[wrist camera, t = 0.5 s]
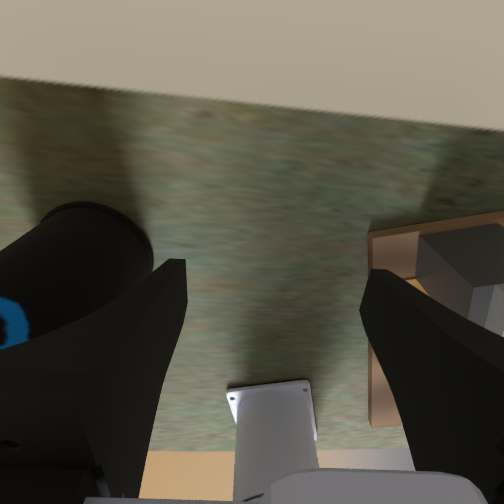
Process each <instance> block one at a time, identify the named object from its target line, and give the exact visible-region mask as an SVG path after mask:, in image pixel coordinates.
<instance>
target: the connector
mask: <svg viewBox="0 0 504 504" xmlns="http://www.w3.org/2000/svg"><path fill="white" fill-rule="evenodd" d="M415 279H416V280H417V281H418V282H419V284H420V285H421V286H422V287H423V289H424V290H425V291H426V292H427V294H428V295H429V296H430V297H431V298H433V299H434V300H436V301H437V302H439V303H441V304H442V305H444V306H446V307H447V308H449V309H451V310H452V311H454V312H456V313H457V314H459V315H461V316H463V317H465V318H466V319H468V320H470V321H472V322H474V323H476V324H478V325H480V326H482V327H484V328H486V329H488V330H490V331H492V332H494V333H496V334H498V335H500V336H502V337H504V227H503V226H501V225H500V224H498V223H493V224H487V225H481V226H474V227H468V228H461V229H455V230H449V231H442V232H436V233H429V234H423V235H418V247H417V258H416V270H415Z"/></svg>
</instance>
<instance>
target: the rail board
mask: <svg viewBox="0 0 504 504" xmlns="http://www.w3.org/2000/svg"><path fill="white" fill-rule="evenodd" d="M493 223H498V224H500V225H501V226H503V227H504V211H497V212H491V213H485V214H478V215H472V216H466V217H459V218H453V219H447V220H441V221H434V222H428V223H422V224H415V225H409V226H403V227H396V228H390V229H384V230H378V231H371V232H368V277H369V274H370V270H371V269H387V270H389V271H391V272H393V273H394V274H396V275H398V276H399V277H401V278H402V279H404V280H405V281H407V282H408V283H410V284H411V285H413V286H414V287H416V288H417V289H419V290H420V291H422V292H423V293H425V294H427V292H426V291H425V290H424V289H423V287H422V286H421V285H420V284H419V282H418V281H417V280H416V279H415V270H416V258H417V247H418V235H423V234H429V233H436V232H442V231H449V230H455V229H461V228H468V227H474V226H481V225H487V224H493ZM427 295H428V294H427ZM428 296H429V295H428ZM368 419H369V422H370V425H371V428H380V427H390V426H399V425H403V424H402V421H401V418H400V415H399V412H398V409H397V406H396V403H395V400H394V397H393V394H392V391H391V389H390V386H389V384H388V382H387V379H386V377H385V375H384V373H383V370H382V368H381V366H380V364H379V362H378V359H377V357H376V355H375V353H374V351H373V348H372V346H371V344H370V342H369V339H368Z"/></svg>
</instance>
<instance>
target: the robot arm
mask: <svg viewBox="0 0 504 504" xmlns="http://www.w3.org/2000/svg"><path fill="white" fill-rule="evenodd" d="M187 303H188V299H187V280H186V261H185V259H168V260H167V261H166V262H164V263H163V264H162V265H161V266H160V267H158V268H157V269H156V270H155V271H153V272H152V273H151V274H150V275H148V276H147V277H146V278H145V279H143V280H142V281H141V282H140V283H138V284H137V285H135V286H134V287H133V288H131V289H130V290H128V291H127V292H125V293H124V294H123V295H121V296H120V297H118V298H117V299H115V300H114V301H112V302H110V303H109V304H107V305H105V306H103V307H102V308H100V309H98V310H96V311H95V312H93V313H91V314H89V315H87V316H85V317H83V318H80V319H78V320H76V321H74V322H72V323H70V324H68V325H66V326H64V327H61V328H59V329H57V330H54V331H52V332H49V333H47V334H44V335H42V336H39V337H36V338H34V339H31V340H28V341H25V342H22V343H20V344H16V345H13V346H10V347H7V348H4V349H1V350H0V504H504V337H502V336H500V335H498V334H496V333H494V332H492V331H490V330H488V329H486V328H484V327H482V326H480V325H478V324H476V323H474V322H472V321H470V320H468V319H466V318H465V317H463V316H461V315H459V314H457V313H456V312H454V311H452V310H451V309H449V308H447V307H446V306H444V305H442V304H441V303H439V302H437V301H436V300H434V299H433V298H431V297H430V296H428V295H427V294H425V293H423V292H422V291H420V290H419V289H417V288H416V287H414V286H413V285H411V284H410V283H408V282H407V281H405V280H404V279H402V278H401V277H399V276H398V275H396V274H394V273H393V272H391V271H389V270H387V269H371V270H370V274H369V277H368V281H367V284H366V288H365V291H364V295H363V299H362V302H361V306H360V309H359V311H360V315H361V319H362V322H363V326H364V329H365V332H366V335H367V337H368V339H369V342H370V344H371V346H372V348H373V351H374V353H375V355H376V357H377V359H378V362H379V364H380V366H381V368H382V370H383V373H384V375H385V377H386V379H387V382H388V384H389V386H390V389H391V391H392V394H393V397H394V400H395V403H396V406H397V409H398V412H399V415H400V418H401V421H402V424H403V428H404V431H405V435H406V438H407V441H408V445H409V448H410V452H411V455H412V459H413V463H414V467H415V470H416V471H400V470H399V471H398V470H369V469H341V468H319V463H318V458H317V452H316V446H315V441H316V440H317V432H316V425H315V418H314V410H313V403H312V396H311V388H310V383H309V381H308V380H299V381H290V382H282V383H273V384H265V385H257V386H248V387H240V388H232V389H228V390H227V391H226V396H227V399H228V402H229V405H230V408H231V411H232V414H233V417H234V420H235V423H236V443H235V464H234V487H233V501H208V500H207V501H205V500H172V499H141V498H138V497H139V493H140V487H141V481H142V476H143V471H144V467H145V462H146V456H147V452H148V447H149V442H150V438H151V433H152V429H153V424H154V420H155V415H156V411H157V406H158V402H159V398H160V394H161V389H162V385H163V382H164V379H165V375H166V372H167V369H168V367H169V364H170V361H171V358H172V355H173V352H174V349H175V347H176V344H177V341H178V338H179V335H180V332H181V329H182V326H183V323H184V318H185V313H186V308H187Z"/></svg>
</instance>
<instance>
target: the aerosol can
mask: <svg viewBox="0 0 504 504" xmlns="http://www.w3.org/2000/svg"><path fill="white" fill-rule="evenodd" d="M152 270H153V255H152V251H151V248H150V245H149V243H148V241H147V239H146V237H145V236H144V234H143V233H142V232H141V230H140V229H139V228H138V227H137V226H136V225H135V224H134V223H133V222H132V221H131V220H130V219H128V218H127V217H126V216H124V215H123V214H121V213H119V212H118V211H116V210H114V209H111V208H109V207H107V206H104V205H100V204H96V203H90V202H75V203H67V204H64V205H62V206H59V207H56V208H55V209H53V210H52V211H50V212H49V213H48V214H47V215H46V216H45V217H44V218H43V219H42V221H41V223H40V224H39V225H38V226H36V227H35V228H33V229H32V230H30V231H29V232H27V233H26V234H24V235H23V236H22V237H20V238H19V239H17V240H16V241H14V242H13V243H11V244H10V245H8V246H7V247H6V248H4V249H3V250H1V251H0V350H1V349H4V348H7V347H10V346H13V345H16V344H20V343H22V342H25V341H28V340H31V339H34V338H36V337H39V336H42V335H44V334H47V333H49V332H52V331H54V330H57V329H59V328H61V327H64V326H66V325H68V324H70V323H72V322H74V321H76V320H78V319H80V318H83V317H85V316H87V315H89V314H91V313H93V312H95V311H96V310H98V309H100V308H102V307H103V306H105V305H107V304H109V303H110V302H112V301H114V300H115V299H117V298H118V297H120V296H121V295H123V294H124V293H125V292H127V291H128V290H130V289H131V288H133V287H134V286H135V285H137V284H138V283H140V282H141V281H142V280H143V279H145V278H146V277H147V276H148V275H150V274H151V273H152Z"/></svg>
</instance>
